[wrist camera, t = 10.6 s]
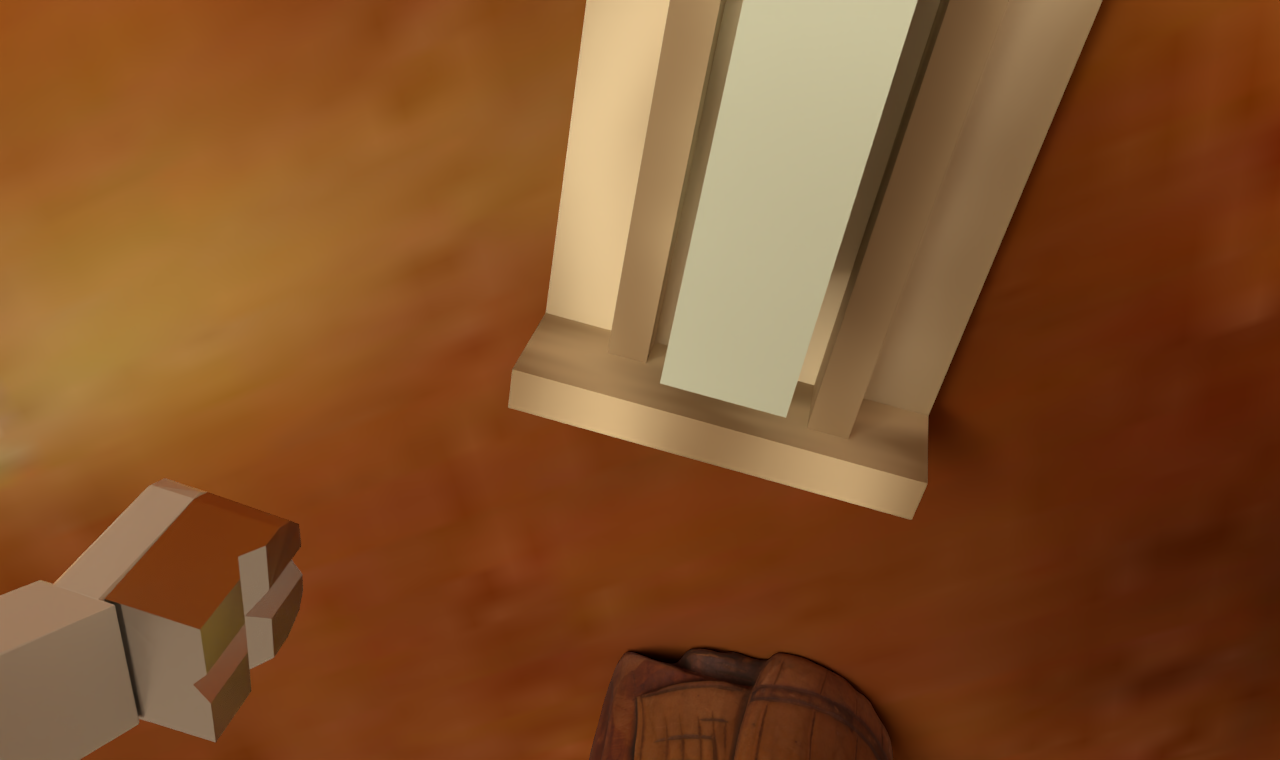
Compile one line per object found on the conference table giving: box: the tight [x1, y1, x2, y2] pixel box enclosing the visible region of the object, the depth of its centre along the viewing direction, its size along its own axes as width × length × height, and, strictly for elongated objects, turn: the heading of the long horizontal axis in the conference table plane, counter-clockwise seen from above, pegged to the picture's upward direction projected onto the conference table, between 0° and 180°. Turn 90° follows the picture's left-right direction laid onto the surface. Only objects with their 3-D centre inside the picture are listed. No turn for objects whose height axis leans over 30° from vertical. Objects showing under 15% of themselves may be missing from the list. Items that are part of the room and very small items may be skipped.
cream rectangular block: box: [660, 0, 918, 418], centre depth 24 cm, size 3×10×7 cm, turn 171°
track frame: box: [508, 0, 1102, 520], centre depth 26 cm, size 12×21×4 cm, turn 171°
